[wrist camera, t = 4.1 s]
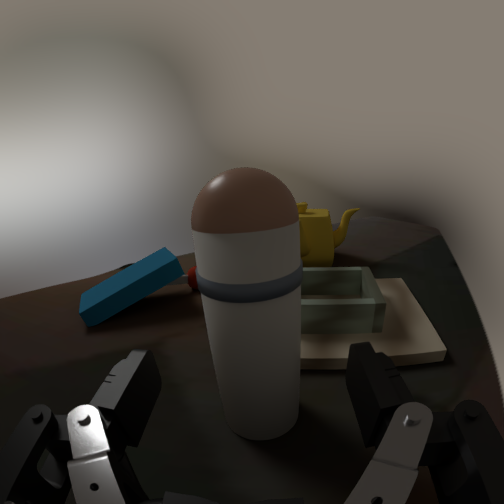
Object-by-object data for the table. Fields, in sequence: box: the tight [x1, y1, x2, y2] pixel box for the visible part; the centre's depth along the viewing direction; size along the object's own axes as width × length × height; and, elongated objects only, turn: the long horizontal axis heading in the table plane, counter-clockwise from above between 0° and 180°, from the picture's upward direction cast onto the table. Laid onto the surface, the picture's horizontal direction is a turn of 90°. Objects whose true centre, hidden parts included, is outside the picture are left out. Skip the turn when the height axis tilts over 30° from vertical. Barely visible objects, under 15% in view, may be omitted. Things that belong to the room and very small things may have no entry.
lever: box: [79, 247, 199, 327], centre depth 35 cm, size 7×7×18 cm
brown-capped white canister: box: [191, 167, 303, 440], centre depth 14 cm, size 5×5×16 cm
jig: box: [300, 267, 447, 369], centre depth 27 cm, size 20×16×4 cm
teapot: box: [296, 202, 360, 268], centre depth 46 cm, size 15×14×10 cm
